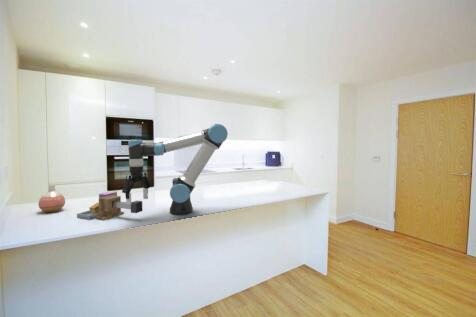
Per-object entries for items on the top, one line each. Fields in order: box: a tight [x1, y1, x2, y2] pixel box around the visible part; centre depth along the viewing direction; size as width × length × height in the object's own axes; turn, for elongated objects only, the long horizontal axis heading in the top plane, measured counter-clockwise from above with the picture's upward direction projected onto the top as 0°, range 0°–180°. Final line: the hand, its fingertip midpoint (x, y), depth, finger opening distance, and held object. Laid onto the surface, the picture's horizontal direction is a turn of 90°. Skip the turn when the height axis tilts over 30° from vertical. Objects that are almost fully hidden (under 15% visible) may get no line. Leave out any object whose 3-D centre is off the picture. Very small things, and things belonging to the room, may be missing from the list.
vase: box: [38, 184, 66, 214], centre depth 149 cm, size 14×14×18 cm
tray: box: [76, 209, 99, 221], centre depth 142 cm, size 11×13×2 cm
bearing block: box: [95, 195, 125, 221], centre depth 141 cm, size 7×14×12 cm, turn 162°
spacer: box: [88, 202, 99, 215], centre depth 143 cm, size 5×6×4 cm
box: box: [98, 190, 118, 199], centre depth 155 cm, size 10×6×12 cm, turn 168°
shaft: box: [112, 200, 143, 214], centre depth 138 cm, size 26×5×6 cm, turn 72°
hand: (137, 201), depth 135 cm, fingers open, 13 cm apart
